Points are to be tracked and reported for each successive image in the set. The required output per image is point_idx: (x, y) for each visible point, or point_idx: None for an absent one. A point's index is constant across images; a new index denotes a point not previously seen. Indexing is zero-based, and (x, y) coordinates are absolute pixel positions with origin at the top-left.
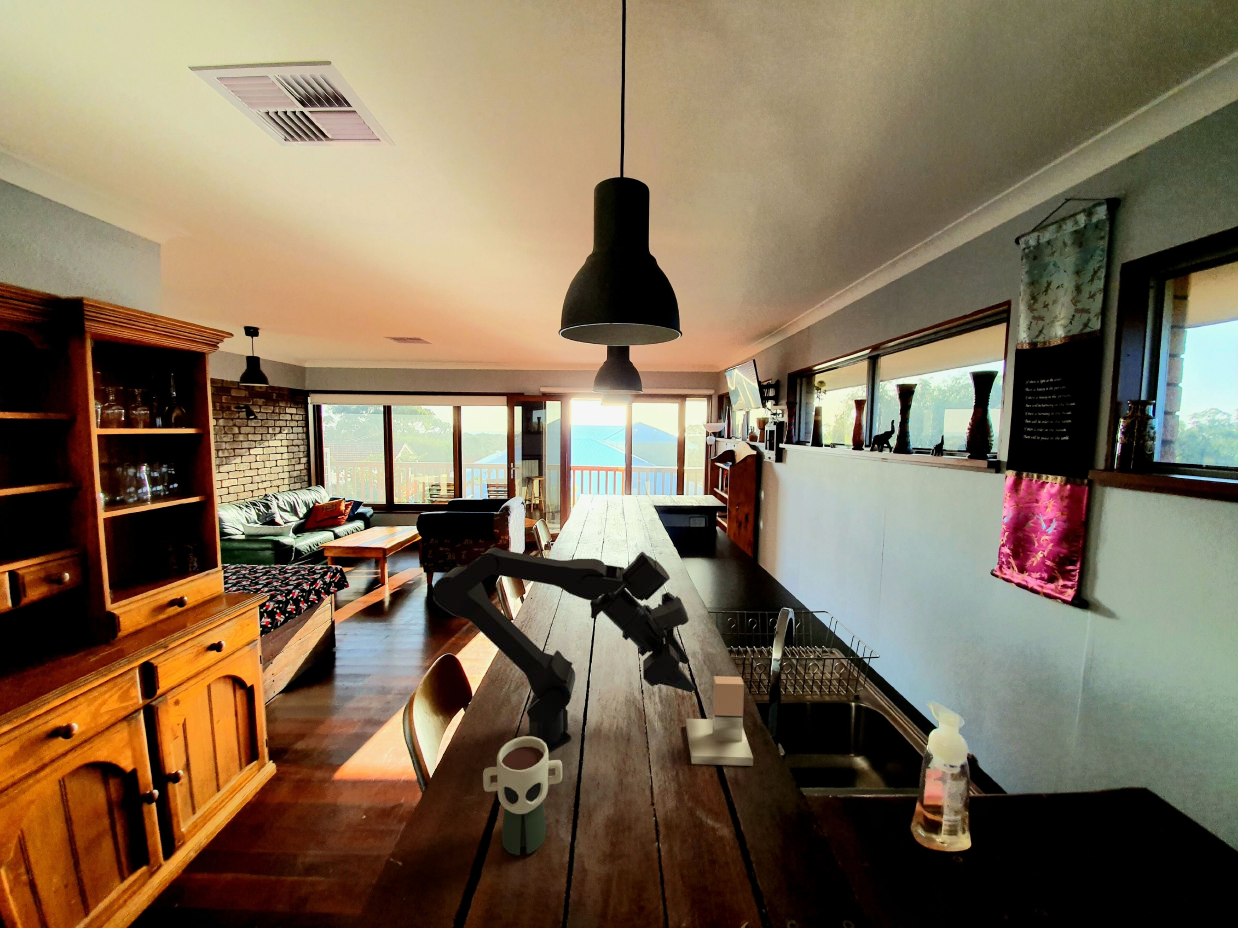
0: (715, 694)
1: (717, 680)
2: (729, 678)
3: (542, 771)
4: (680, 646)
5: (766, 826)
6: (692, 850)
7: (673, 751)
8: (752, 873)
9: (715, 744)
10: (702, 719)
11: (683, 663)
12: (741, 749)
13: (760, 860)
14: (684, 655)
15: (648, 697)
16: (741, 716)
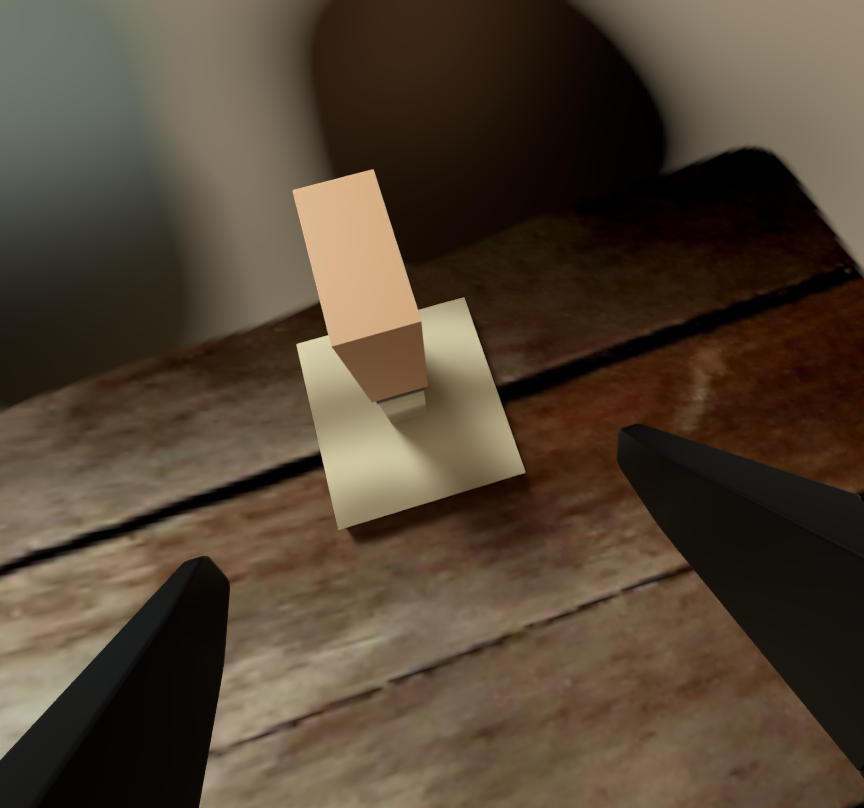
0: (424, 351)
1: (379, 316)
2: (332, 249)
3: None
4: (51, 738)
5: (648, 272)
6: (801, 421)
7: (487, 543)
8: (782, 293)
9: (444, 407)
10: (327, 468)
11: (228, 605)
12: (440, 330)
13: (743, 280)
14: (177, 622)
15: None
16: None
